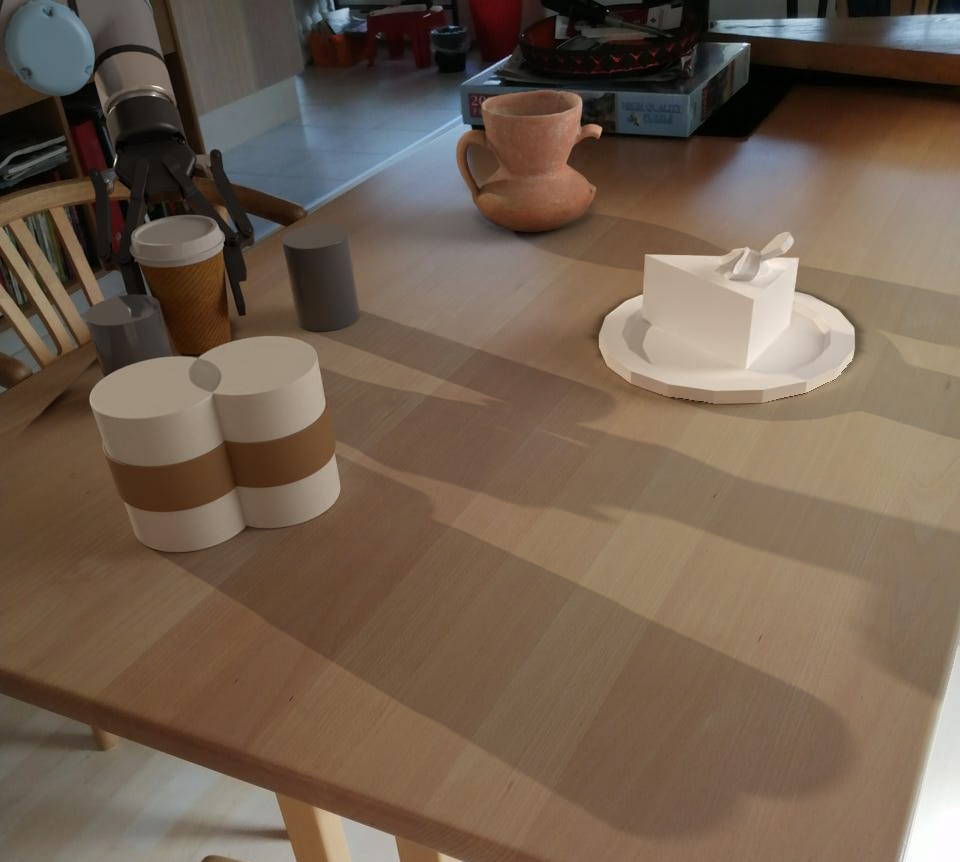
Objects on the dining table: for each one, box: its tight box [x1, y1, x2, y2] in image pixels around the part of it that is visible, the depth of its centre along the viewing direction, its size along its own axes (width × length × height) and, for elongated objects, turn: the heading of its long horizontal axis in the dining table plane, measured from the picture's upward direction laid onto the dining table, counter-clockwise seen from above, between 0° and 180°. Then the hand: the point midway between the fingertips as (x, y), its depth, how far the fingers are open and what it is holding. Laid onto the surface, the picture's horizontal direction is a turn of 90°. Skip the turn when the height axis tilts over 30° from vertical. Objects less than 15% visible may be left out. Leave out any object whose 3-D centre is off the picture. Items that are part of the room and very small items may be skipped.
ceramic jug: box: [455, 89, 603, 233], centre depth 129 cm, size 18×14×14 cm
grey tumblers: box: [83, 224, 361, 378], centre depth 106 cm, size 7×30×9 cm, turn 134°
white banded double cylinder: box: [89, 335, 342, 553], centre depth 83 cm, size 17×14×12 cm
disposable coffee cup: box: [130, 214, 232, 355], centre depth 108 cm, size 10×10×12 cm
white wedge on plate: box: [598, 231, 856, 405], centre depth 100 cm, size 25×25×11 cm
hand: (197, 318), depth 107 cm, fingers closed on disposable coffee cup, 9 cm apart
